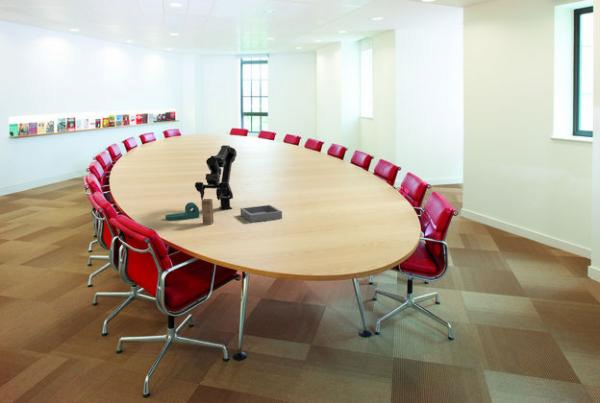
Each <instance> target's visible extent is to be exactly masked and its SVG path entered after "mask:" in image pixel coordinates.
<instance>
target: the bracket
mask: <svg viewBox="0 0 600 403" xmlns="http://www.w3.org/2000/svg"><path fill="white" fill-rule="evenodd" d="M164 218H165V220H166V221H169V222H170V221H180V220H181V219H182V220H190V219H199V218H200V208H199V207H198V205H196V203H195V202H192V201H191V202H190V201H189V202H188V203H186V205H185V207H184V212H179V213H176V212H175V213H170V214H169V213H168V214H166V215H165V216H164Z"/></svg>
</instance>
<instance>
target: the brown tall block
mask: <svg viewBox="0 0 600 403" xmlns="http://www.w3.org/2000/svg"><path fill="white" fill-rule="evenodd" d="M213 203H214V202H213V198H203V200H201V215H202V225H208V226H211V225H213V224H214V222H215V220H214V207H213V206H214V205H213Z"/></svg>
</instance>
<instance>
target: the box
mask: <svg viewBox="0 0 600 403" xmlns="http://www.w3.org/2000/svg"><path fill="white" fill-rule="evenodd" d="M239 210H240V216H241V217H243V218H244V219H246V220H247V221H249V222H250V223H252V224H253V223H259V222H267V221H274V220H280V219H283V211H282V210H280V209H279V208H277V207H275V206H272V205H271V204H266V205H258V206H257V205H256V206H250V207H249V206H247V207H240V208H239Z"/></svg>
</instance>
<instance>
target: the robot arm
mask: <svg viewBox="0 0 600 403" xmlns="http://www.w3.org/2000/svg"><path fill="white" fill-rule="evenodd" d="M237 156H238V155H237V150H236V149H235V148H234V147H231V146H230V145H221V146H220V149H219V151H218V153H217V154H216V155H210V157H209V158H207V159H206V161H205V162H206V166H207V167H208V170H209V171H210V173H205V178H204V179H205V181H206V184H205V183H204V181H196V182H195V184H194V188H195V189H196V191H197V192H199V193H200V199H201V200H200V201H202V200H203V199H204V196H205V193H206V192H205V191H206V190H205V189H213V190H214V189H215V196H216V199H217V201H219V202H220V206H219V207H218V208H219V209H220V210H230V209H232V210H233V207H232V206H231V200H232V199H234V194H233V191H232V189H231V186H230V177H231V171H232V165H233V163H234V161H236V157H237ZM222 168H223V169H222ZM221 175H222V176H221Z"/></svg>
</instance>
